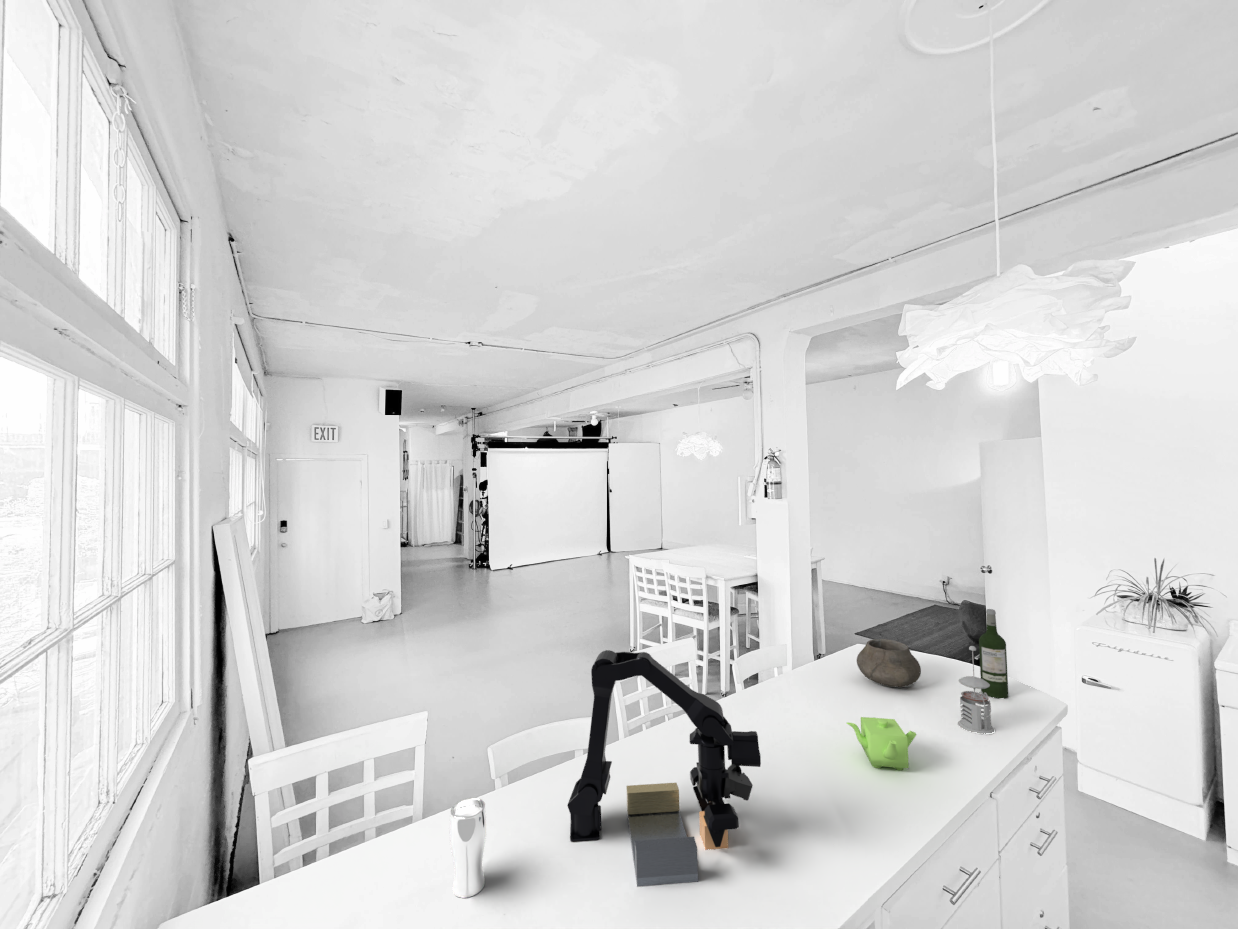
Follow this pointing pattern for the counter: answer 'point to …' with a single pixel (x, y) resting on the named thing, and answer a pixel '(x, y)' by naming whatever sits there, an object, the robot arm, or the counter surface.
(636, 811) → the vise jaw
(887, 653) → the clay pot
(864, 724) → the kettle
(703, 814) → the block
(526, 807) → the counter surface
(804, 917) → the counter surface
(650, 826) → the vise bed
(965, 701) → the french press
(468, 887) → the beer glass
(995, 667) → the wine bottle
